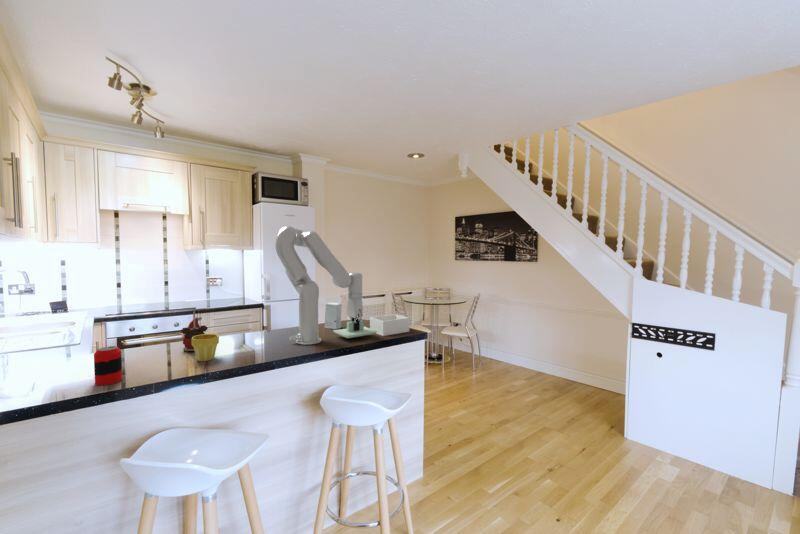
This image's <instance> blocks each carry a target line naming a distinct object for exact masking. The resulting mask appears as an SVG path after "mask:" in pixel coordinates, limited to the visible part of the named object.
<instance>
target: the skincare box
mask: <svg viewBox="0 0 800 534" xmlns="http://www.w3.org/2000/svg"><path fill="white" fill-rule="evenodd" d="M342 306H343V305H342V303H340V302H339V303H338V302H326V303H325V309H324V329H327V330H328V329H329V330H339V329H341V328H342V308H343V307H342Z"/></svg>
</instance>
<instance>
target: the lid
mask: <svg viewBox="0 0 800 534" xmlns="http://www.w3.org/2000/svg"><path fill="white" fill-rule="evenodd" d="M354 323H355V322H354V321H347V322H346V328H342V329H341V328H338V329H332V330H333V333H335V334H337V335H339V336H340V337H343V338H346V339H353V338H358V337H364V336H365V337H366V336H370V335H374V334H377V331H376V330H373V329H370V327H367V326H365V324H364V323H365V321H364V320H363V319H362V320H360V330H357V331H354Z"/></svg>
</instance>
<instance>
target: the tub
mask: <svg viewBox="0 0 800 534" xmlns="http://www.w3.org/2000/svg"><path fill="white" fill-rule="evenodd" d="M369 328H370V329H373V330H376V331H377V333H376V334H377V335H380V336H382V337H384V336H390V335H397V334H402V333H403V334H404V333H410V317H408V316H405V315H400V314H396V313H395V314H394V313H393V314H386V315H378V316H377V315H376V316H370V317H369Z"/></svg>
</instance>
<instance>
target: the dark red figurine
mask: <svg viewBox="0 0 800 534" xmlns="http://www.w3.org/2000/svg"><path fill="white" fill-rule="evenodd" d="M192 317H193V319H192V320H191V321H190V322H189V323H188V325H187V326H186V327H183V328H182V329H180V333H181V334H183V337H182V344H183V345H184V346H183V347H182V350H183V351H186V352H187V351H188V352H195V351H194V347H193V346H192V337H193V336H196V335H202V334H206V333H205V332H207V331H208V326H207V325H200V324H199V321H202V320H203V316H201V315H199V316H197V317H196V311H195V310H193V311H192Z"/></svg>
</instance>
